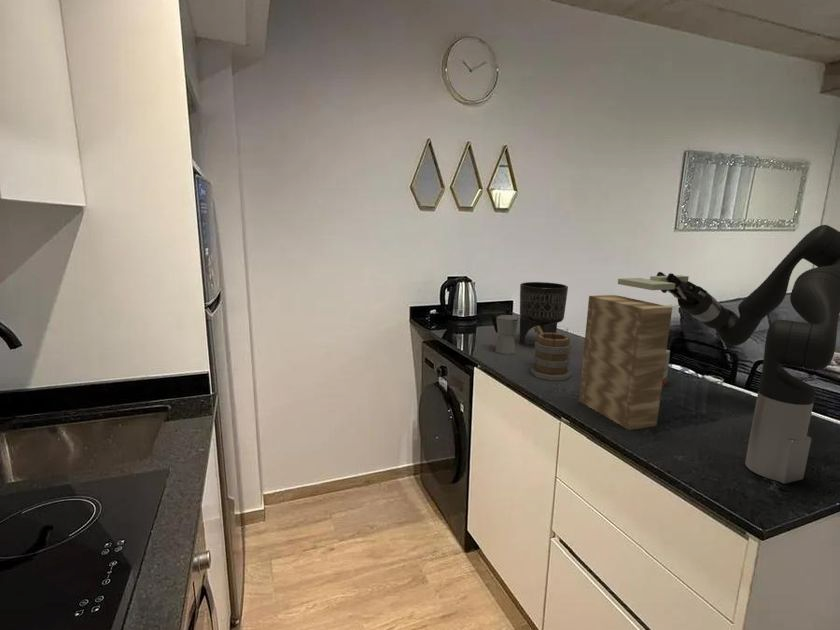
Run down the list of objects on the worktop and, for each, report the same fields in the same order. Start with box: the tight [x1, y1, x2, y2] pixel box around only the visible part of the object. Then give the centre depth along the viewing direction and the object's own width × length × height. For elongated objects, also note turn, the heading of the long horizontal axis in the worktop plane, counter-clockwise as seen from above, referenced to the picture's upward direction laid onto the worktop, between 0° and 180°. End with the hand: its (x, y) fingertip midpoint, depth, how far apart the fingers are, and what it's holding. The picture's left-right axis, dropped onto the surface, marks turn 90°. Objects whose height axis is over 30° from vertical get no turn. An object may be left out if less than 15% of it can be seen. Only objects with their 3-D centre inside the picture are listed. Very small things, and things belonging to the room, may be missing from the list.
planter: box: [519, 281, 569, 344], centre depth 194 cm, size 20×20×26 cm
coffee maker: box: [491, 308, 520, 356], centre depth 185 cm, size 15×9×18 cm, turn 34°
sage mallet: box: [617, 274, 690, 291], centre depth 124 cm, size 12×17×2 cm
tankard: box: [530, 326, 572, 382], centre depth 161 cm, size 20×13×15 cm, turn 9°
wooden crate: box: [578, 294, 673, 431], centre depth 124 cm, size 20×9×32 cm, turn 19°
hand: (663, 275), depth 124 cm, fingers closed on sage mallet, 3 cm apart
